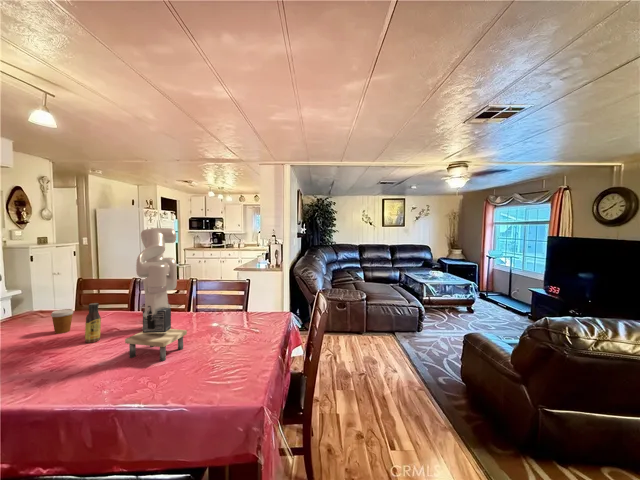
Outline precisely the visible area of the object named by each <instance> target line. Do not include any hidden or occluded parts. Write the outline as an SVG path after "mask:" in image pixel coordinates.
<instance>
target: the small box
mask: <svg viewBox="0 0 640 480" xmlns="http://www.w3.org/2000/svg"><path fill="white" fill-rule="evenodd" d="M144 312H145V309H144V310H142V314H143V313H144ZM148 314H149V313H148ZM150 314H152V312H151V311H150ZM150 317H152V315H150ZM153 320H154V329H148V321H147V320H146V319H145V317H144V316H143V315H142V327H143V330H142V331H143V333H161V332H166V331H168V330H169V329H172V307H170V308H164V309H161V310H159V311H157V314H156V315H155V317H154V319H153Z"/></svg>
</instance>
